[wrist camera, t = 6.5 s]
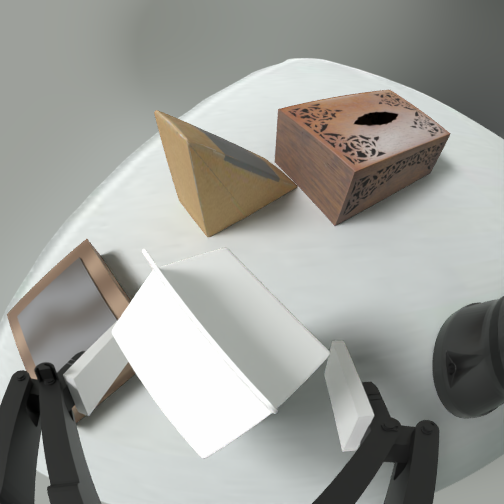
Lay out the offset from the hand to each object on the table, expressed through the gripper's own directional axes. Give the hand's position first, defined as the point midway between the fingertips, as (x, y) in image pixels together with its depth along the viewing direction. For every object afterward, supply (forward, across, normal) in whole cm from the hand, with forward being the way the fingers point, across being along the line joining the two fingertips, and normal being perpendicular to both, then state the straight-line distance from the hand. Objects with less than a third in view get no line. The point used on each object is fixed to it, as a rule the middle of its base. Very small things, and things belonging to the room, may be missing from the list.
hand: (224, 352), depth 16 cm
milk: (+7, 0, -9) cm, 12 cm away
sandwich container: (+25, -2, +9) cm, 27 cm away
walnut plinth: (+9, -19, -7) cm, 22 cm away
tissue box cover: (+31, +17, +15) cm, 39 cm away
